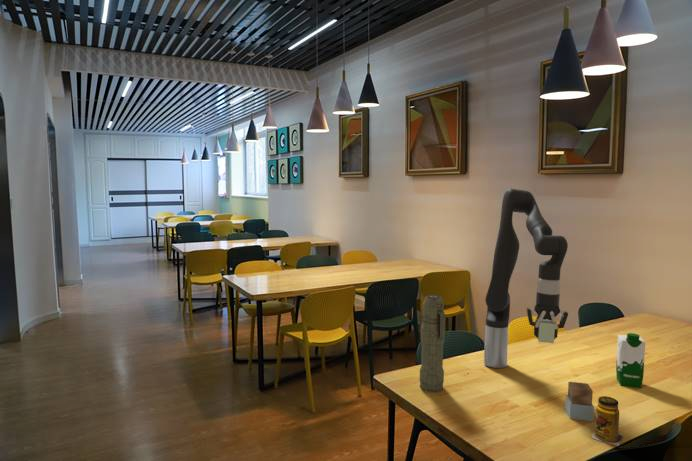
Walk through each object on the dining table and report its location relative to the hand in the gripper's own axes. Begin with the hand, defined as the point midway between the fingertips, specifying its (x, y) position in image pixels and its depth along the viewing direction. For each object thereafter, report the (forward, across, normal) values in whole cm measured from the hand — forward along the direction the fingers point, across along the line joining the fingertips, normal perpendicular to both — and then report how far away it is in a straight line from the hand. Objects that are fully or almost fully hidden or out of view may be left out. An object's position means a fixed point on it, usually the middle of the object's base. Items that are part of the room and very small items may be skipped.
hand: (545, 337), depth 166 cm
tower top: (+17, +10, -12) cm, 23 cm away
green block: (+1, 0, 0) cm, 1 cm away
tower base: (+22, +10, -12) cm, 27 cm away
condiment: (+22, +15, -25) cm, 36 cm away
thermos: (+23, -39, -3) cm, 45 cm away
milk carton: (+21, +34, +22) cm, 46 cm away
